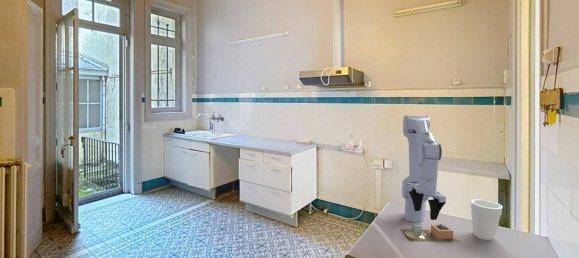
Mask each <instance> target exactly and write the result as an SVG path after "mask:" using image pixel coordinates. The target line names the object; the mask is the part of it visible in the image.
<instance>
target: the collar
mask: <svg viewBox="0 0 579 258" xmlns="http://www.w3.org/2000/svg"><path fill="white" fill-rule="evenodd" d="M430 225H431V226H430V230H431V233H432V234H433V235H435V236H436V237H437V238H438V239H453V236H454V230H453V229H452V228H451V227H450V226H448V225H447V224H445V223H444V224H443V225H445V226H446V230H440V229H439V224H430Z"/></svg>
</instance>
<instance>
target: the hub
mask: <svg viewBox="0 0 579 258" xmlns="http://www.w3.org/2000/svg"><path fill="white" fill-rule="evenodd" d="M411 229H412V230H407V231H405V235H406V236H408V237H410V238H412V239H415V240H426V239H427V238H428V236H427V235H426V234H425V233H423V232H421V231H422V230H423V227H422V225H421V224H420V223H411ZM405 235H404V236H405Z"/></svg>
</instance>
